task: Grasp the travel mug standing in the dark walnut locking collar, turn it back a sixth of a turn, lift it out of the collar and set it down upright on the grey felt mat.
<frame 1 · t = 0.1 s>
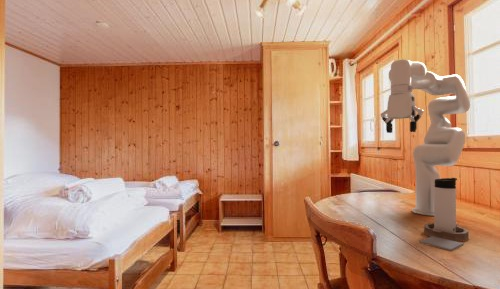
hand: (400, 132, 119), 37 cm above the table, tool pointing down, fingers open, 9 cm apart
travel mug: (445, 235, 100), resting in collar
mat: (441, 243, 92), on the table
collar: (445, 235, 100), on the table
flask: (446, 226, 113), on the table
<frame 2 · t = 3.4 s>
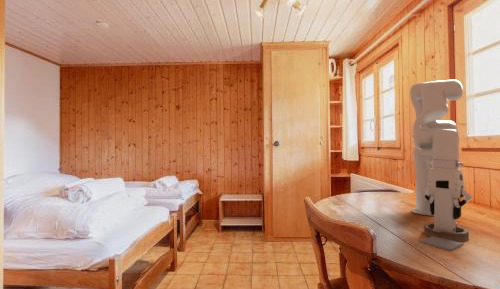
hand: (445, 216, 101), 7 cm above the table, tool pointing down, fingers closed on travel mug, 6 cm apart
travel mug: (445, 235, 100), resting in collar, touching gripper
everything else where it was.
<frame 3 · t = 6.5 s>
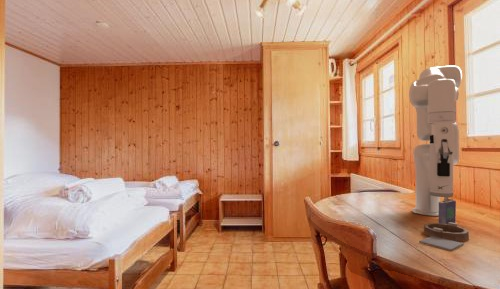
hand: (441, 174, 92), 22 cm above the table, tool pointing down, fingers closed on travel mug, 6 cm apart
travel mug: (441, 196, 92), point 15 cm above the table, touching gripper
everything else where it was.
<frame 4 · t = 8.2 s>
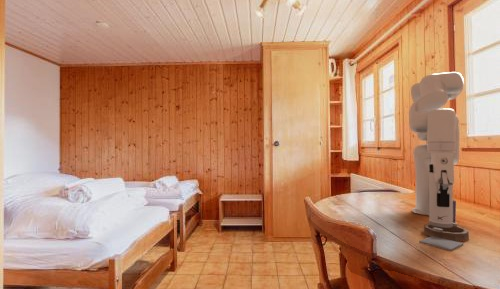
hand: (441, 204, 92), 13 cm above the table, tool pointing down, fingers closed on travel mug, 6 cm apart
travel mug: (441, 225, 92), point 6 cm above the table, touching gripper
everything else where it was.
when the fingers open (8 cm above the table, at t = 9.5 s): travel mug drops 1 cm, resting on mat.
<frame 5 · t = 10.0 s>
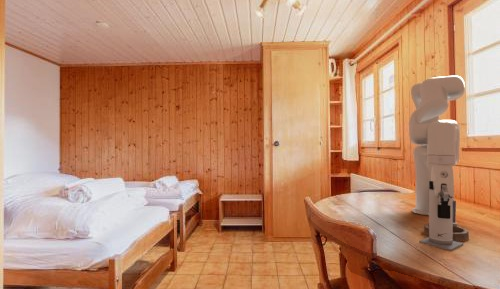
hand: (441, 214, 92), 9 cm above the table, tool pointing down, fingers open, 9 cm apart
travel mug: (441, 242, 92), resting on mat
everything else where it was.
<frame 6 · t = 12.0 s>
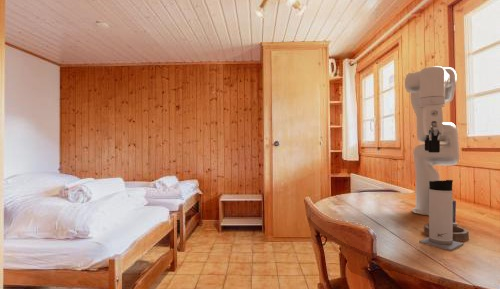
hand: (431, 151, 102), 29 cm above the table, tool pointing down, fingers open, 9 cm apart
nothing on the table moved.
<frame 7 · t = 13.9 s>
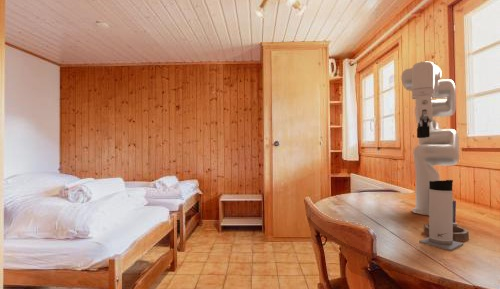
hand: (422, 137, 114), 34 cm above the table, tool pointing down, fingers open, 9 cm apart
nothing on the table moved.
at the end: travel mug inside the target area on the mat (0.1 cm from its centre), point 0.4 cm above the mat's base; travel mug tilted 0°; the gripper is holding nothing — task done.
